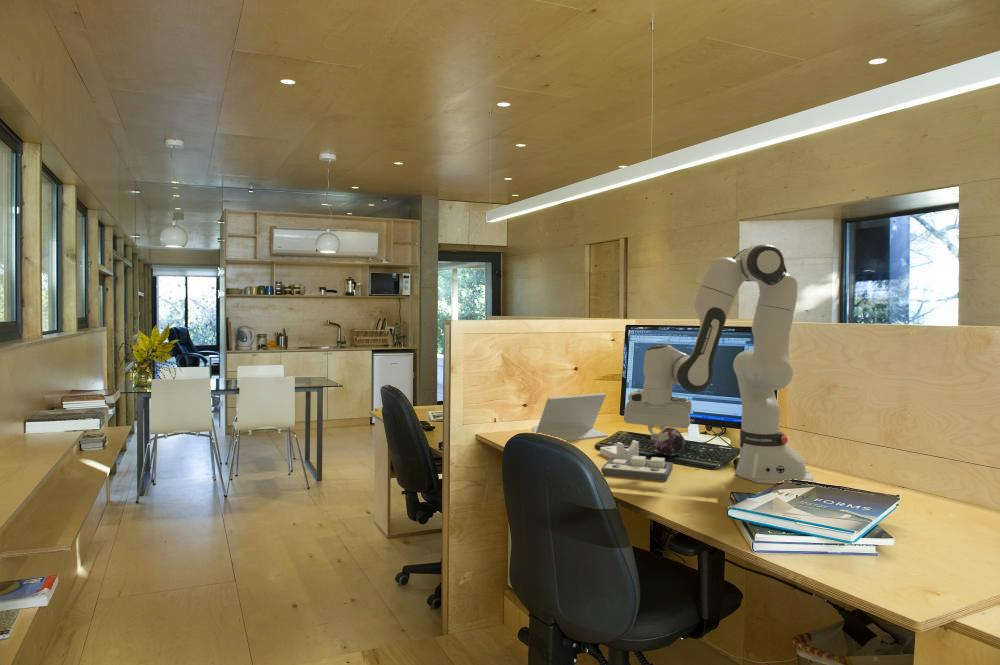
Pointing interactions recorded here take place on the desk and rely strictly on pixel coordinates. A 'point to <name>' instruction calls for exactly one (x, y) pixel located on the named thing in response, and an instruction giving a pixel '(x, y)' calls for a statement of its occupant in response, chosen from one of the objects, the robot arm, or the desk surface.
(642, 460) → the button middle
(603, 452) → the bracket
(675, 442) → the mineral specimen
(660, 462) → the button near
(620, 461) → the button far
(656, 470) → the button panel
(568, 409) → the tablet stand
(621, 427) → the desk surface
